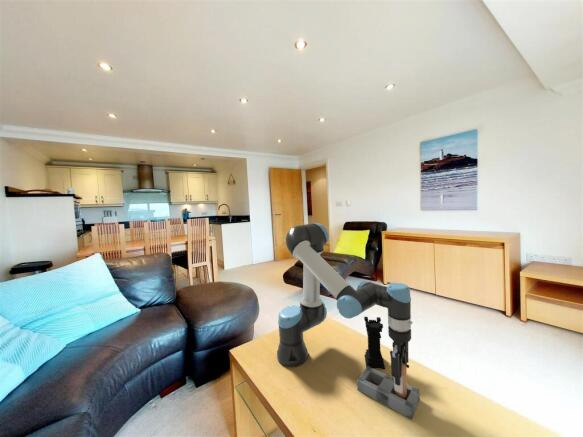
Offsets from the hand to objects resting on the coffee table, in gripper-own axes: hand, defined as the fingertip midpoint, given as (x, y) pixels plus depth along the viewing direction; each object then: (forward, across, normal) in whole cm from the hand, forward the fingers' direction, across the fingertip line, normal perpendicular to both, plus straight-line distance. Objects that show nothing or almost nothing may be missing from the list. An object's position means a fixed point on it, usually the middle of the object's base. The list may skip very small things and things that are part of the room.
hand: (400, 387), depth 86 cm
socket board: (+6, 0, +5) cm, 8 cm away
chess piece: (+6, +14, +16) cm, 22 cm away
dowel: (+5, 0, 0) cm, 5 cm away
